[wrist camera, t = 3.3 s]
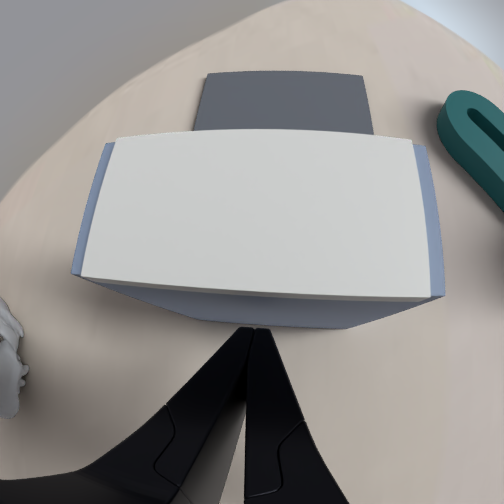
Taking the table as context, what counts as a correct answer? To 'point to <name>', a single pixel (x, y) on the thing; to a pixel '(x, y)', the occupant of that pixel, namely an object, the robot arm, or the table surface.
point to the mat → (284, 102)
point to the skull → (10, 363)
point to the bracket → (475, 139)
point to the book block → (265, 226)
